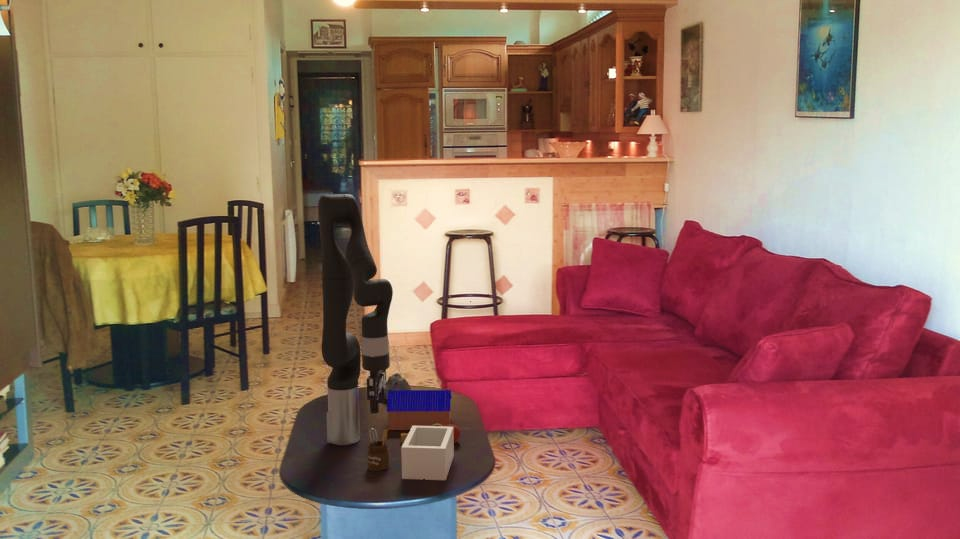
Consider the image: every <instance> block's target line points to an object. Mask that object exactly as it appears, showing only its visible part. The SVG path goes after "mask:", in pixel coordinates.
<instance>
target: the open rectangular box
mask: <svg viewBox="0 0 960 539" xmlns="http://www.w3.org/2000/svg"><path fill="white" fill-rule="evenodd" d="M454 444H455V443H454V430H453V427H446V426H412V427H411V429H410V431H409V432H408V435H407V437H406V439H405V441H404V443H402V445H401V451H400V452H401V479H402V480H423V479H425V480H429V481H447V477H448V475H449V471H450V468H451V466H452V463H453V460H454V456H455V451H454V450H455V449H454V448H455V447H454Z"/></svg>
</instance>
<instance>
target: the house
mask: <svg viewBox="0 0 960 539" xmlns="http://www.w3.org/2000/svg"><path fill="white" fill-rule="evenodd" d="M451 400H452V391H451V389H428V390H427V389H415V390H414V389H411V390H388V400H387V401H386V402H387V404H386V412H387V429H388V430H410V429H411V427H412V426H432V425H434V424H441V425H442V426H446V425H448V424H451V421H450V420H452V415H451V414H452V412H451Z"/></svg>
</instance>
